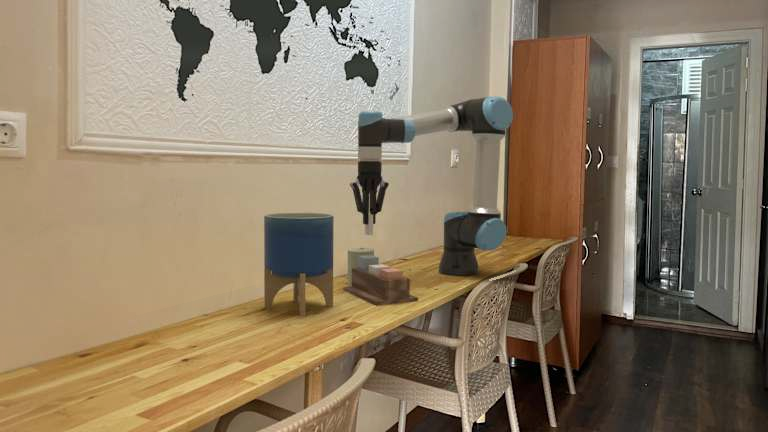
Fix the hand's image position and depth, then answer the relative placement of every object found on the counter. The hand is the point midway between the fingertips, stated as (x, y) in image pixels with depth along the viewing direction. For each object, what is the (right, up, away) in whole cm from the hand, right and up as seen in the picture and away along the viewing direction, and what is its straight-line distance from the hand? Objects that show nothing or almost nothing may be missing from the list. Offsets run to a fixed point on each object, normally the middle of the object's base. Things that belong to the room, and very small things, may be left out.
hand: (369, 234), depth 197 cm
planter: (-19, -20, -22) cm, 36 cm away
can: (-3, -17, +14) cm, 22 cm away
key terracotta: (+7, -17, -13) cm, 22 cm away
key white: (+3, -16, -5) cm, 17 cm away
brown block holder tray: (+3, -19, -5) cm, 20 cm away
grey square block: (0, -14, +1) cm, 14 cm away
